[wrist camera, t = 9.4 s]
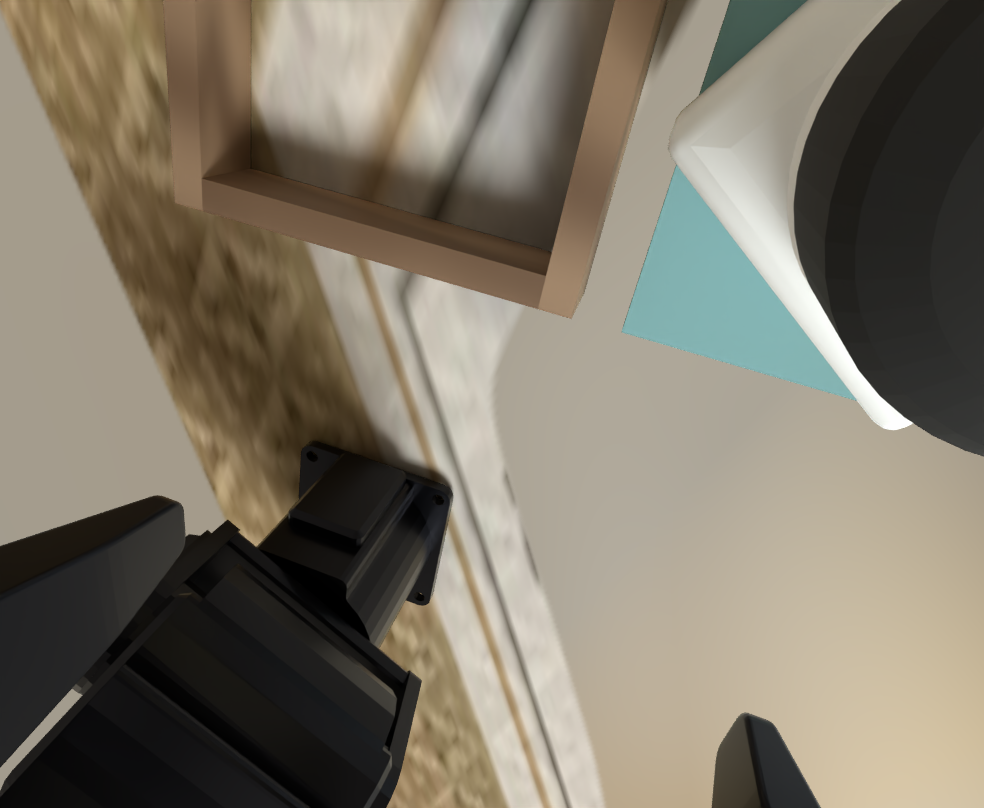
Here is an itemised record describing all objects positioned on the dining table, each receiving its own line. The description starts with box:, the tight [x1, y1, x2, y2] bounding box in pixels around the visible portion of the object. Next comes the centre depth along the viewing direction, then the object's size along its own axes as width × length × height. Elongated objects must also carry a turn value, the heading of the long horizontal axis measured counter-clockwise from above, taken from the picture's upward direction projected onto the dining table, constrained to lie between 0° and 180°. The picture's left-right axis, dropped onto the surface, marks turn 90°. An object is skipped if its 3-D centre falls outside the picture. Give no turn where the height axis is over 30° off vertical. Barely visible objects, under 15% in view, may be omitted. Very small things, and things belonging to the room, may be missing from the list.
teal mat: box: [622, 0, 857, 401], centre depth 16 cm, size 14×9×1 cm, turn 168°
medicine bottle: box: [668, 0, 984, 456], centre depth 11 cm, size 7×7×12 cm
